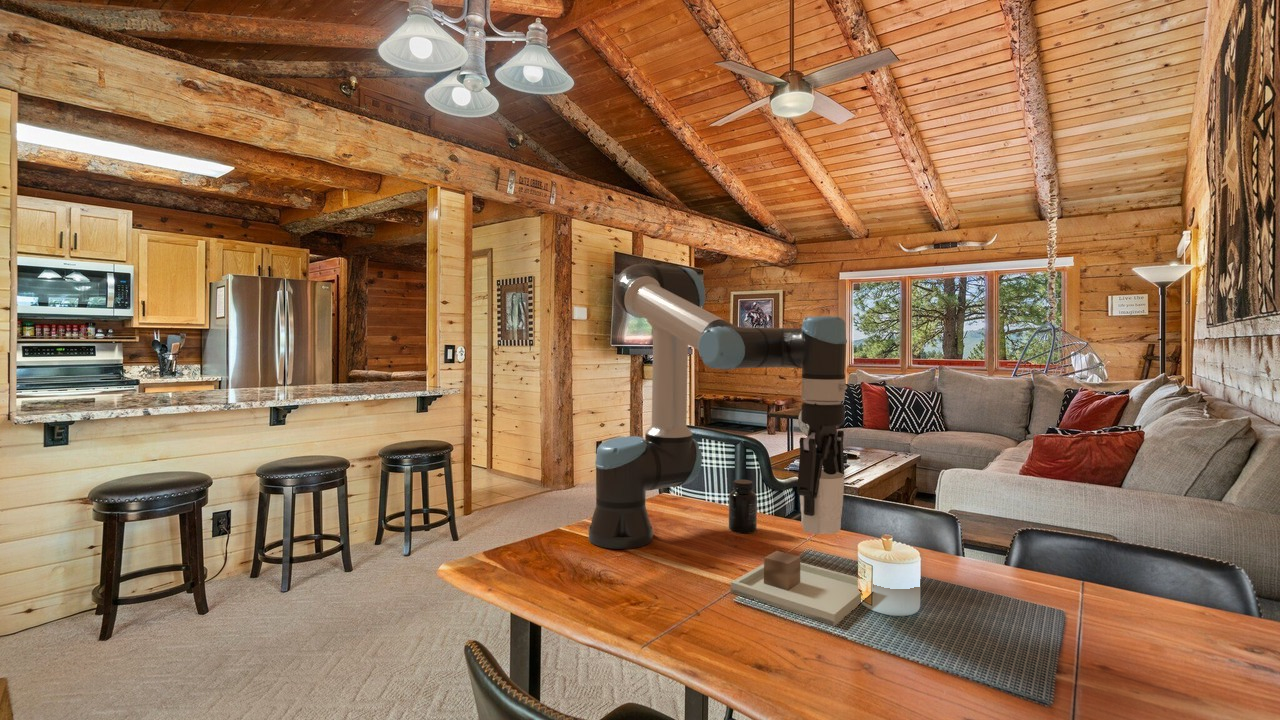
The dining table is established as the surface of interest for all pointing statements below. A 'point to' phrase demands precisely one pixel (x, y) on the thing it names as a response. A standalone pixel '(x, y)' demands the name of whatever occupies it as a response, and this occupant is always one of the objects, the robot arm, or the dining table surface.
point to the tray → (805, 593)
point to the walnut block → (782, 570)
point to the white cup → (829, 502)
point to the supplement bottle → (743, 507)
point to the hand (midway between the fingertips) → (821, 527)
